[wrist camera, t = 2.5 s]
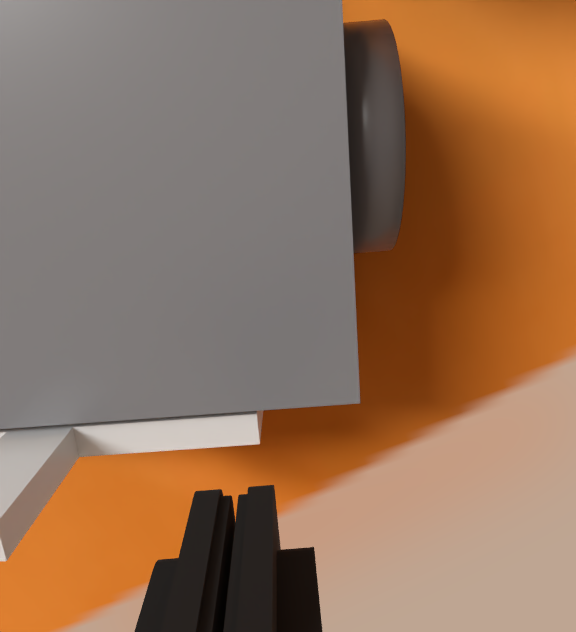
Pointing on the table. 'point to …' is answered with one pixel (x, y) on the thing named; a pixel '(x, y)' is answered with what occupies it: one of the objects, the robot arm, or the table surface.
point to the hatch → (93, 440)
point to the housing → (189, 204)
